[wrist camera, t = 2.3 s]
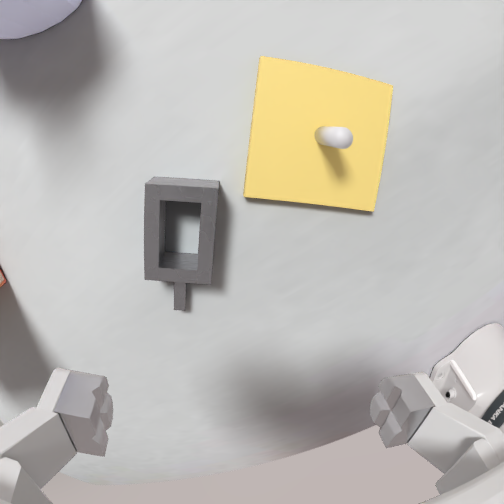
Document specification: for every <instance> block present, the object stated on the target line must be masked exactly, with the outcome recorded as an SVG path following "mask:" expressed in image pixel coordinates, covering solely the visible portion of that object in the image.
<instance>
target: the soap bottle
mask: <svg viewBox="0 0 504 504" xmlns="http://www.w3.org/2000/svg"><path fill="white" fill-rule="evenodd" d="M81 1H82V0H0V39H19V38H22V37H26V36H29V35H33V34H36V33H40V32H42V31H44V30H46V29H48V28H50V27H52V26H54V25H55V24H57V23H59V22H61V21H63V20H64V19H65V18H66V17H67V16H68V15H70V14H71V13H72V12H73V11H75V10H76V9H77V8H78V6H79V5H80V3H81Z"/></svg>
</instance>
